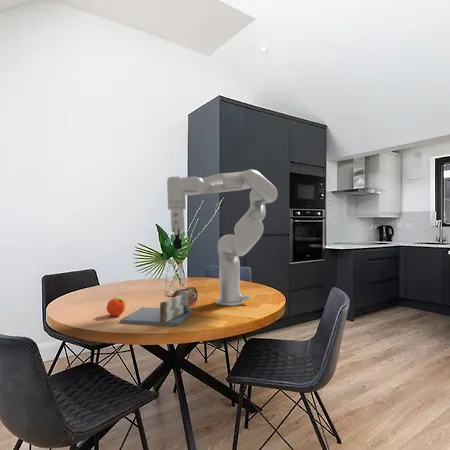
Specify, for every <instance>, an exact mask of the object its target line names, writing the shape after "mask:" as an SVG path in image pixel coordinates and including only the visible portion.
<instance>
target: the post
mask: <svg viewBox="0 0 450 450" xmlns="http://www.w3.org/2000/svg"><path fill="white" fill-rule="evenodd" d="M181 295H184V313H183V314H186V313H188V310H189V307H188V291H181Z"/></svg>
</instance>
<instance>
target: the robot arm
mask: <svg viewBox="0 0 450 450" xmlns="http://www.w3.org/2000/svg"><path fill="white" fill-rule="evenodd" d="M166 185H167V189H166V190H167V210H170V225H171V226H170V229H171V232H172V233H173V249H174V250H181V249H182V247H183V242H182V241H183V240H182V233H184V232H185V231H186V229H185V214H184V210H186V196H189V197H190V196H196V195H204V194H205V195H206V194H217V193H226V192H236V191H243V190H249V189H251V191H250V192H249V202H250V203H249V204H250V205H249V208H248V210H247V211H246V212H245V213H244V214H243V216H241V218H240V219H239V220H237V222H236V224H235V225H234V228H233V231H234V234H233V233H232V234H224V235H222V236H221V237H220V238H219V240H218V241H217V253H218V261H219V263H218V264H219V265H218V266H219V268H218V269H219V273H218V274H219V275H218V280H219V281H218V284H219V285H218V286H219V287H218V289H219V291H218V293H219V294H218V295H219V297H218V298H217V299H216V300H215V304H216V305H219V306H225V307H227V306H229V307H230V306H233V307H234V306H239V305H242V304H244V300H245V301H250V295H246V294H244V295H243V294H242V292H241V285H240V284H241V280H240V279H241V275H240V273H241V270H240V269H241V264H240V263H241V262H240V258H239V257H243V256H246V254H247V253H249V252H250V251H251V249H252V248H253V247H254V245H256V244H257V242H258V241H259V240H260V239H261V238H262V236H263V235H264V234H263V233H264V230H265V229H264V223H263V220H264V219H265V217H266V214H267V212H266V211H267V210H266V204H271V203H273V202H275V201H276V200H277V199H278V194H279V192H278V188H276V186H275V185H274V184H273V183H272V182H270V180H268V179H267V178H266V177H265V176H264V175H262V174H261V173H260V172H259V171H257V170H255V169H247V170H244V171H234V172H225V173H223V172H222V173H217V174H214V175H210V176H205V177H199V176H185V177H184V176H183V177H182V176H169V177H168V178H167V181H166Z"/></svg>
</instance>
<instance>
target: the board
mask: <svg viewBox="0 0 450 450" xmlns="http://www.w3.org/2000/svg"><path fill="white" fill-rule="evenodd" d="M193 311H194V310H193V309H188V313H186V314H183V313H182V314H181V315H179V316H177V317H175V318H173V319H171V320H169V321H167V322H166V323H160V307H144V306H143V307H142V306H141V307H140V308H138V309H136V310H135V311H133V312H132V313H129V314H128V315H126V316H124V317H122V318H120V320H119V324H133V325H150V326H165V327H166V326H167V327H169V326H170V327H179V326H180V325H182V324H183V323H184V321H186V320H187V319H188V318H189V317H190V316H191V315H192V314H193Z"/></svg>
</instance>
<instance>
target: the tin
mask: <svg viewBox="0 0 450 450" xmlns="http://www.w3.org/2000/svg"><path fill="white" fill-rule="evenodd" d="M181 291H188V308H190V307H193V306H195V305H196V303H197V301H198V290H197V288H196V287H194V286H187V287H183V288H179V289H176V290H174V292H173V294H172V298H174V297H176V296H179V295H181Z"/></svg>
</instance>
